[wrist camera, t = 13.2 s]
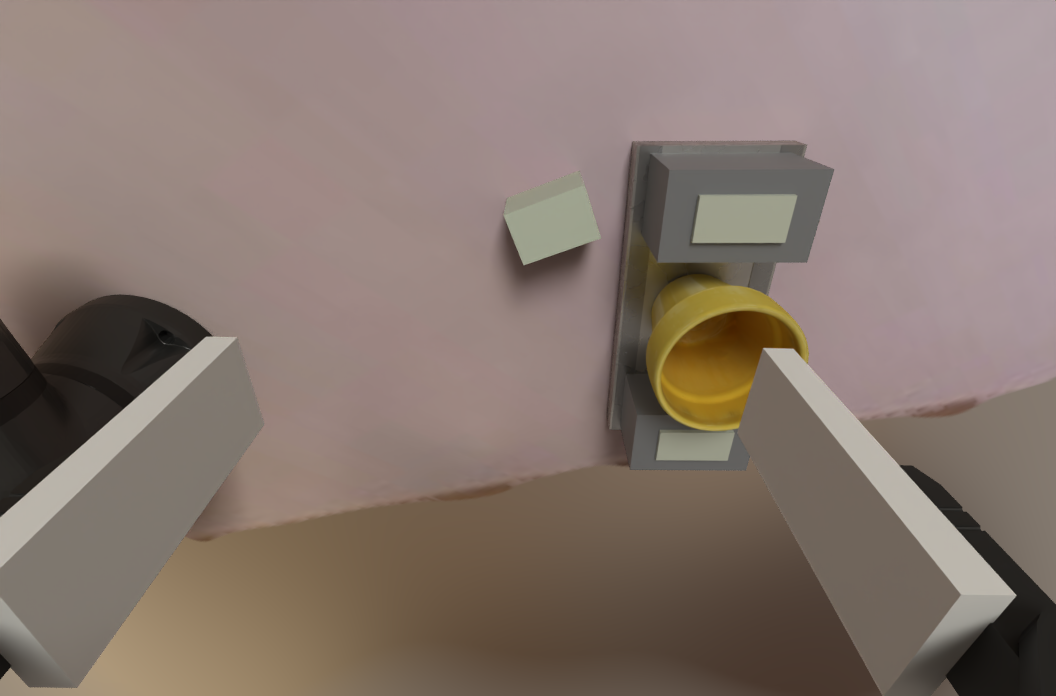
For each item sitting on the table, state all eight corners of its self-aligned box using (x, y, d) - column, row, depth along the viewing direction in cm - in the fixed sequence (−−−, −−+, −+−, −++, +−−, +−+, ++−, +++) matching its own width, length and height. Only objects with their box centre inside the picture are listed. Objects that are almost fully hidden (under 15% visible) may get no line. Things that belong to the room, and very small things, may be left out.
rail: (606, 416, 50) (609, 429, 49) (632, 141, 37) (637, 145, 35) (726, 416, 50) (733, 430, 48) (794, 140, 37) (807, 145, 35)
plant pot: (766, 336, 43) (822, 404, 35) (652, 377, 46) (678, 451, 37) (739, 230, 38) (795, 279, 30) (612, 282, 41) (632, 341, 32)
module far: (620, 425, 48) (630, 473, 43) (625, 373, 45) (638, 418, 40) (723, 425, 48) (747, 473, 43) (736, 374, 45) (763, 418, 40)
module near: (641, 234, 39) (658, 264, 33) (650, 153, 36) (671, 171, 30) (770, 234, 39) (809, 264, 33) (791, 152, 36) (837, 170, 30)
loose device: (525, 243, 41) (523, 265, 37) (507, 197, 40) (503, 215, 35) (594, 218, 40) (601, 238, 36) (579, 170, 38) (584, 185, 34)
